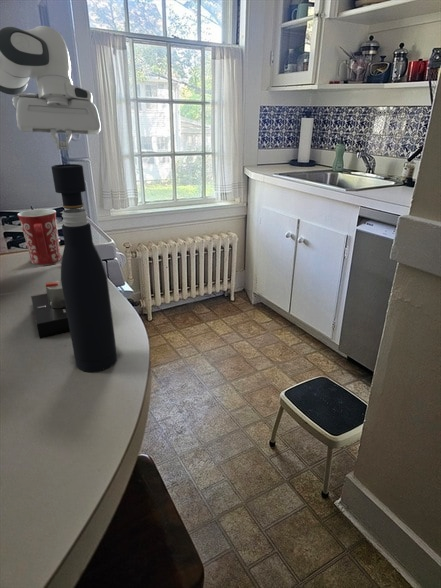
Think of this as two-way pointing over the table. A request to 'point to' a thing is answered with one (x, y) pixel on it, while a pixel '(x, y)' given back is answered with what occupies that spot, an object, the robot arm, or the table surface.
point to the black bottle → (83, 278)
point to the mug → (41, 235)
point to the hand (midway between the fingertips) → (63, 148)
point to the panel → (49, 317)
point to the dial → (55, 294)
